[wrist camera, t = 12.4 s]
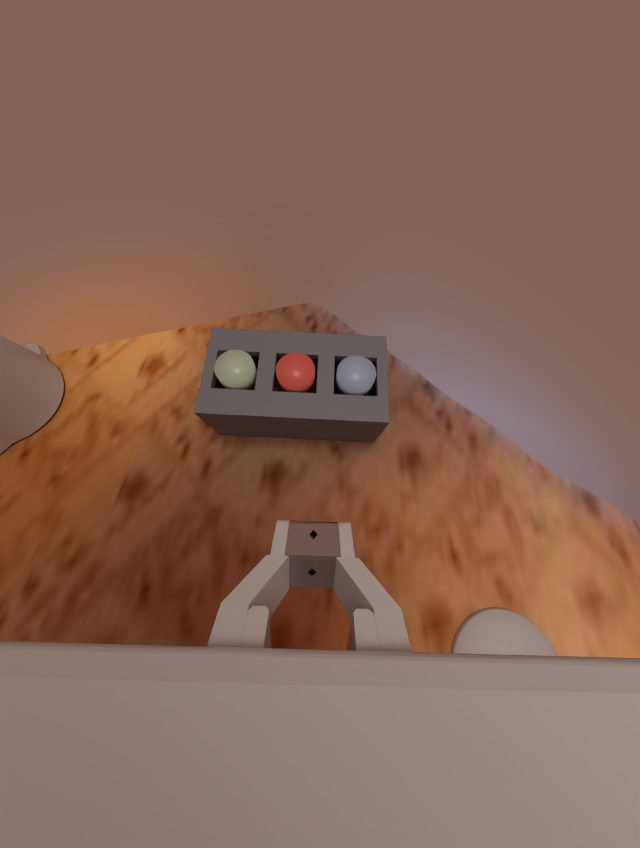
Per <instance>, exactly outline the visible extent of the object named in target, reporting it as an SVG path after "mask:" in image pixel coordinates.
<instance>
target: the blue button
mask: <svg viewBox="0 0 640 848" xmlns="http://www.w3.org/2000/svg"><path fill="white" fill-rule="evenodd" d="M375 379H376V369H375V367H374V365H373V363H372V362H371V361H370V360H368V359H367V358H365V357H362V356H349V357H347V358H345V359H343V360H342V361H341V362H340V364H339V366H338V368H337V374H336V381H335V389H336V391H337V393H338V394H340V395H360V396H368V394H369V392H370V390H371V388H372V386H373V383H374V381H375Z"/></svg>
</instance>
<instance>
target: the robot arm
mask: <svg viewBox="0 0 640 848" xmlns="http://www.w3.org/2000/svg"><path fill="white" fill-rule="evenodd" d="M63 391H64V382H63V377H62V375H61V373H60V371H59V370H58V368H57V367H56V366H55V365H53V364H52V363H51V362H50V361H49V360H48V359H47V356H46V353H45V350H44V349H43V347H41V346H39V345H37V344H34V343H30V344H20V343H18V342H16V341H14V340H12V339H10V338H8V337H6V336H4V335H2V334H0V454H1V453H2V452H3V451H4V450H6V449H7V448H8V447H9V446H10V445H11V444H13V443H15V442H17V441H19V440H21V439H23V438H25V437H27V436H29V435H31V434H32V433H34V432H35V431H37V430H38V429H39V428H41V427H42V426H43V425H44V424H45V423H46V422H47V421H48V420H49V419H50V418H51V417H52V415H53V414H54V413H55V411H56V410H57V408H58V406H59V404H60V402H61V399H62V396H63ZM289 587H312V588H328V589H333V591H334V593H335V594H336V596H337V598H338V600H339V601H340V603H341V605H342V607H343V608H344V610H345V612H346V614H347V616H348V617H349V619H350V621H351V628H350V634H349V639H348V645H347V650H320V649H282V648H271V632H270V617H271V616H272V614H273V613H274V611H275V610H276V608H277V607H278V605H279V604H280V602H281V601H282V599H283V598H284V596H285V595H286V593H287V592H288V590H289ZM0 848H640V658H612V657H575V656H538V655H501V654H464V653H427V652H412V651H411V647H410V643H409V639H408V635H407V631H406V627H405V623H404V618H403V614H402V610H401V608H400V607H399V606H398V605H397V603H396V602H395V601H394V600H393V599H392V597H391V596H390V595H389V594H388V593H387V591H386V590H385V589H384V588H383V586H382V585H381V584H380V583H379V582H378V580H377V579H376V578H375V577H374V576H373V574H372V573H371V572H370V571H369V569H368V568H367V567H366V566H365V565H364V563H363V562H362V561H361V560H360V559H359V558H355V552H354V544H353V536H352V528H351V524H350V522H338V523H337V522H309V521H293V520H290V521H289V520H277V522H276V527H275V532H274V537H273V542H272V548H271V553H270V555H266V556H265V557H264V558H263V559H262V560H261V561H260V562H259V563H258V564H257V565H256V566H255V567H254V568H253V570H252V571H251V572H250V573H249V574H248V575H247V576H246V577H245V578H244V579H243V580H242V581H241V582H240V583H239V584H238V585H237V586H236V588H235V589H234V590H233V591H232V592H231V593H230V594H229V595H228V596H227V597H226V598H225V599H224V600H223V601H222V602H221V604H220V607H219V610H218V613H217V616H216V619H215V623H214V626H213V629H212V632H211V635H210V638H209V641H208V644H207V646H172V645H135V644H99V643H63V642H28V641H0Z"/></svg>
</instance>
